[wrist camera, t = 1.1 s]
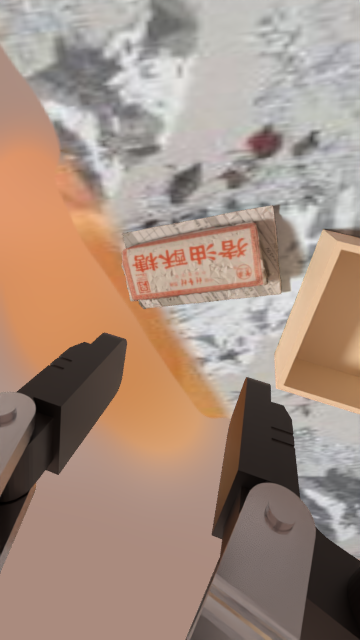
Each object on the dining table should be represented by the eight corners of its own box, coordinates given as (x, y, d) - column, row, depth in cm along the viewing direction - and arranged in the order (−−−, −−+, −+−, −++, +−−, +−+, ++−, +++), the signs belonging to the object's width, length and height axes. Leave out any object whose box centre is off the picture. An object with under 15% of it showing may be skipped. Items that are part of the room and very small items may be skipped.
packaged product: (130, 319, 39) (108, 237, 36) (143, 306, 43) (125, 232, 40) (283, 304, 34) (274, 206, 30) (281, 290, 38) (273, 203, 34)
